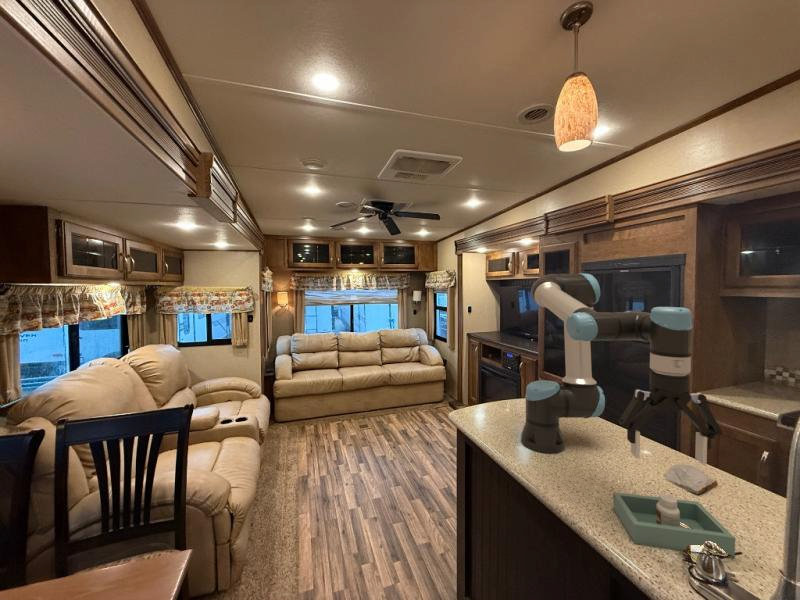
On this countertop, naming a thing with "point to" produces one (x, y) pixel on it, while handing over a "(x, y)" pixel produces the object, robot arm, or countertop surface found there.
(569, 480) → the countertop surface
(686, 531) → the tray
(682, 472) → the stone
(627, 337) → the robot arm
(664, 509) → the pill bottle
